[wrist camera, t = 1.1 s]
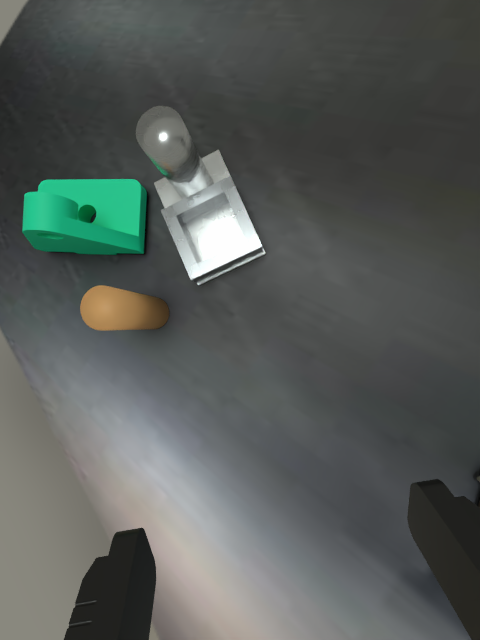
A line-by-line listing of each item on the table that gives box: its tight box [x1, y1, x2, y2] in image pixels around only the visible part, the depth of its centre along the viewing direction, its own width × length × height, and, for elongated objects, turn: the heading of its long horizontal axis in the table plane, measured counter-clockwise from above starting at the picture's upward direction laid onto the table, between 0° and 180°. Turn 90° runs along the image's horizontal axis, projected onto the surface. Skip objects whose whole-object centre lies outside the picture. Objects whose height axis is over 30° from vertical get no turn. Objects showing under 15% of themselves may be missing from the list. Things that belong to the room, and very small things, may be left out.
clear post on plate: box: [136, 106, 266, 285], centre depth 32 cm, size 12×8×11 cm, turn 24°
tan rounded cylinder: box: [80, 286, 169, 330], centre depth 33 cm, size 4×4×11 cm
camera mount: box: [22, 179, 147, 255], centre depth 34 cm, size 12×8×10 cm, turn 87°
